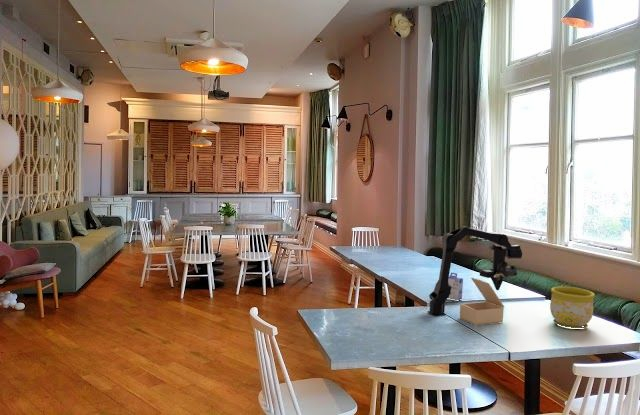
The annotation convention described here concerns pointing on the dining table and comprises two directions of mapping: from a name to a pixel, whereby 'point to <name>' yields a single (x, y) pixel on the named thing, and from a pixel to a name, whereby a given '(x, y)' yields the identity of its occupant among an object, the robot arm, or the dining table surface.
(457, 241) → the robot arm
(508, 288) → the dining table surface
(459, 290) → the ink cartridge box
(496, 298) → the carton lid
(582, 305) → the flowerpot
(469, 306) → the carton
